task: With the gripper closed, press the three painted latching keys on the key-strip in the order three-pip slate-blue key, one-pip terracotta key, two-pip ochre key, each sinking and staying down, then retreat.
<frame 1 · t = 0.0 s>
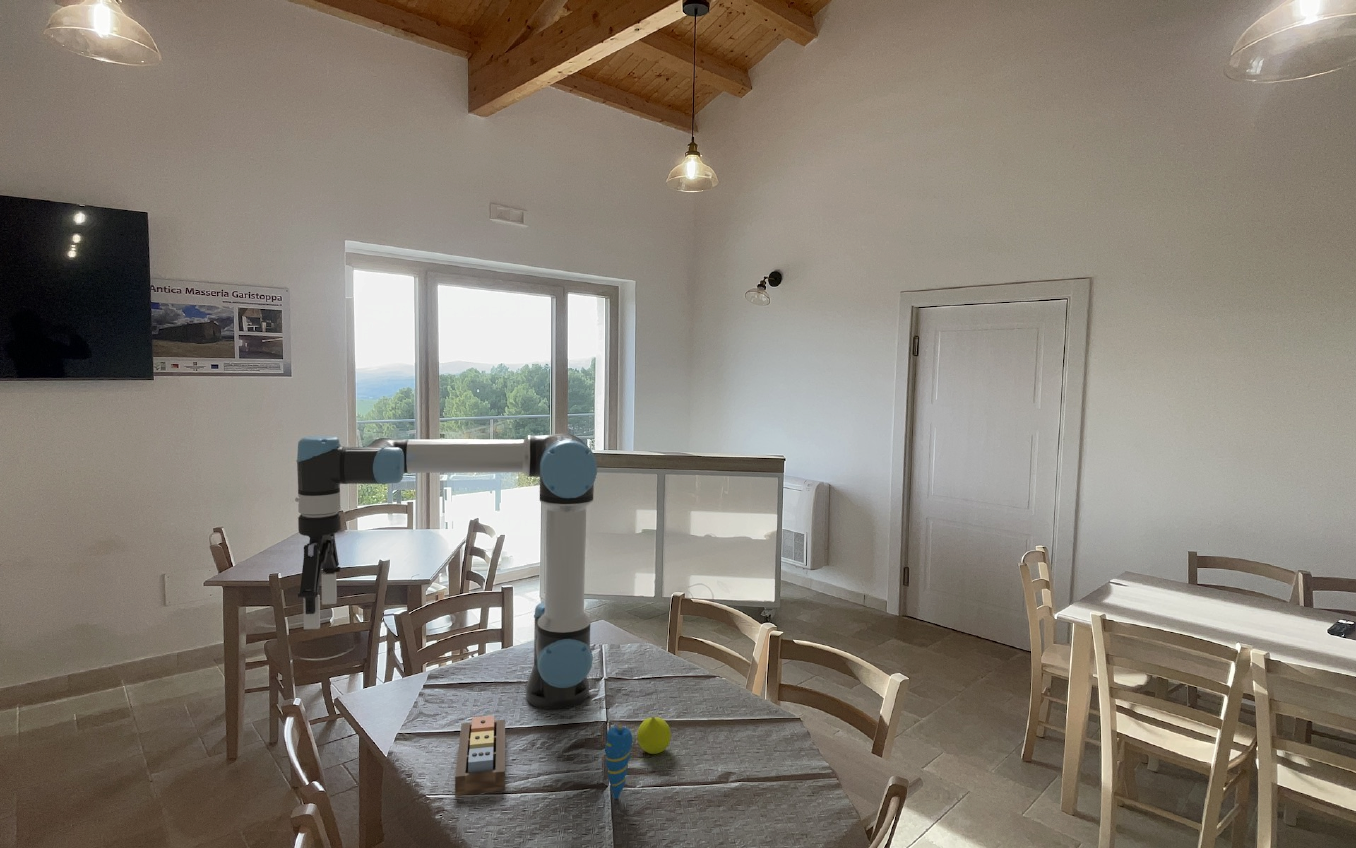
hand: (321, 615, 140), 28 cm above the table, fingers open, 13 cm apart
ornament: (617, 799, 129), on the table
tile three: (480, 761, 132), point 4 cm above the table, slide at 0.0 cm
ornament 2: (653, 752, 145), on the table
tile one: (482, 728, 144), point 4 cm above the table, slide at 0.0 cm
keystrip: (481, 764, 138), on the table
tile two: (482, 744, 138), point 4 cm above the table, slide at 0.0 cm
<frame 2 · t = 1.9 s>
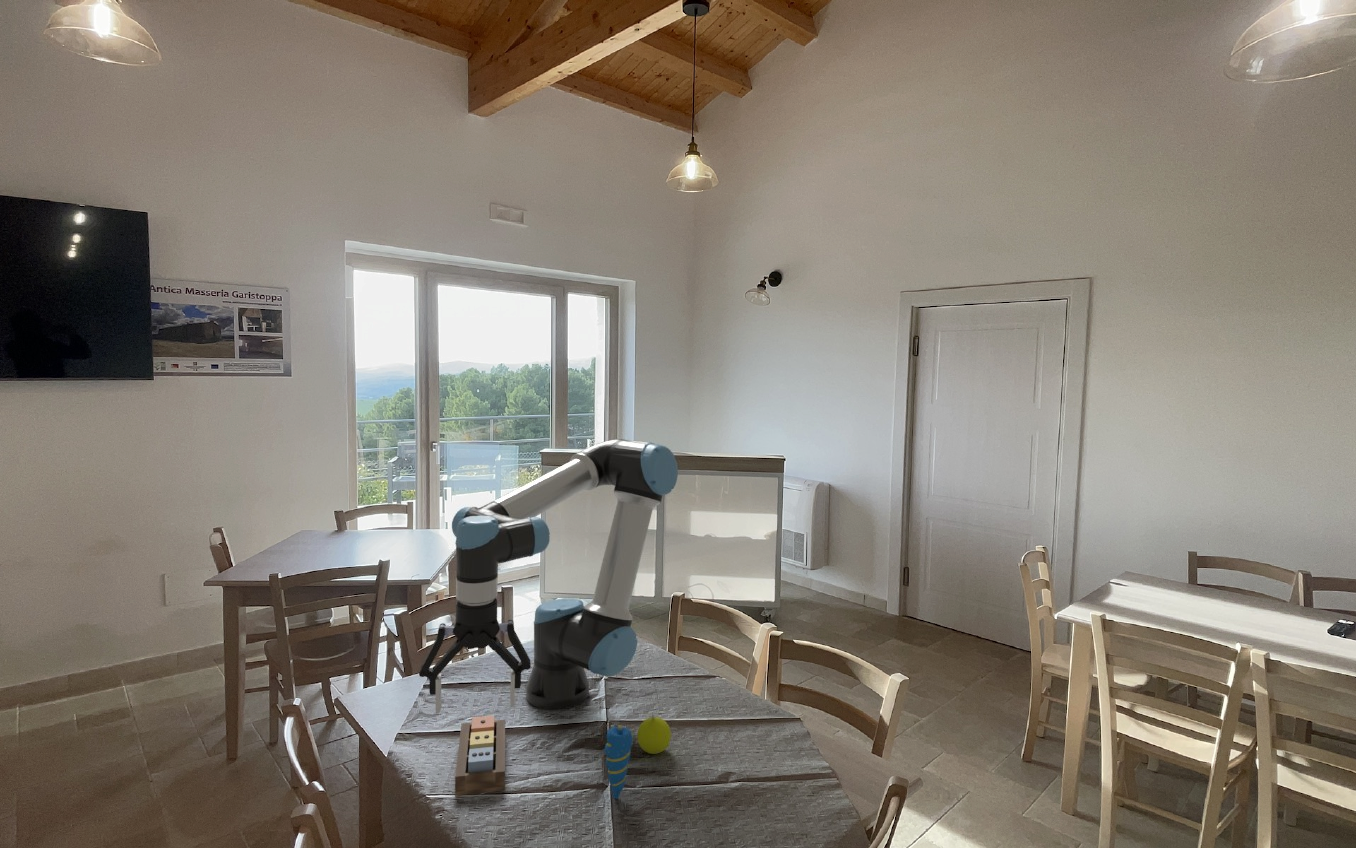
hand: (475, 707, 131), 15 cm above the table, fingers open, 13 cm apart
nothing on the table moved.
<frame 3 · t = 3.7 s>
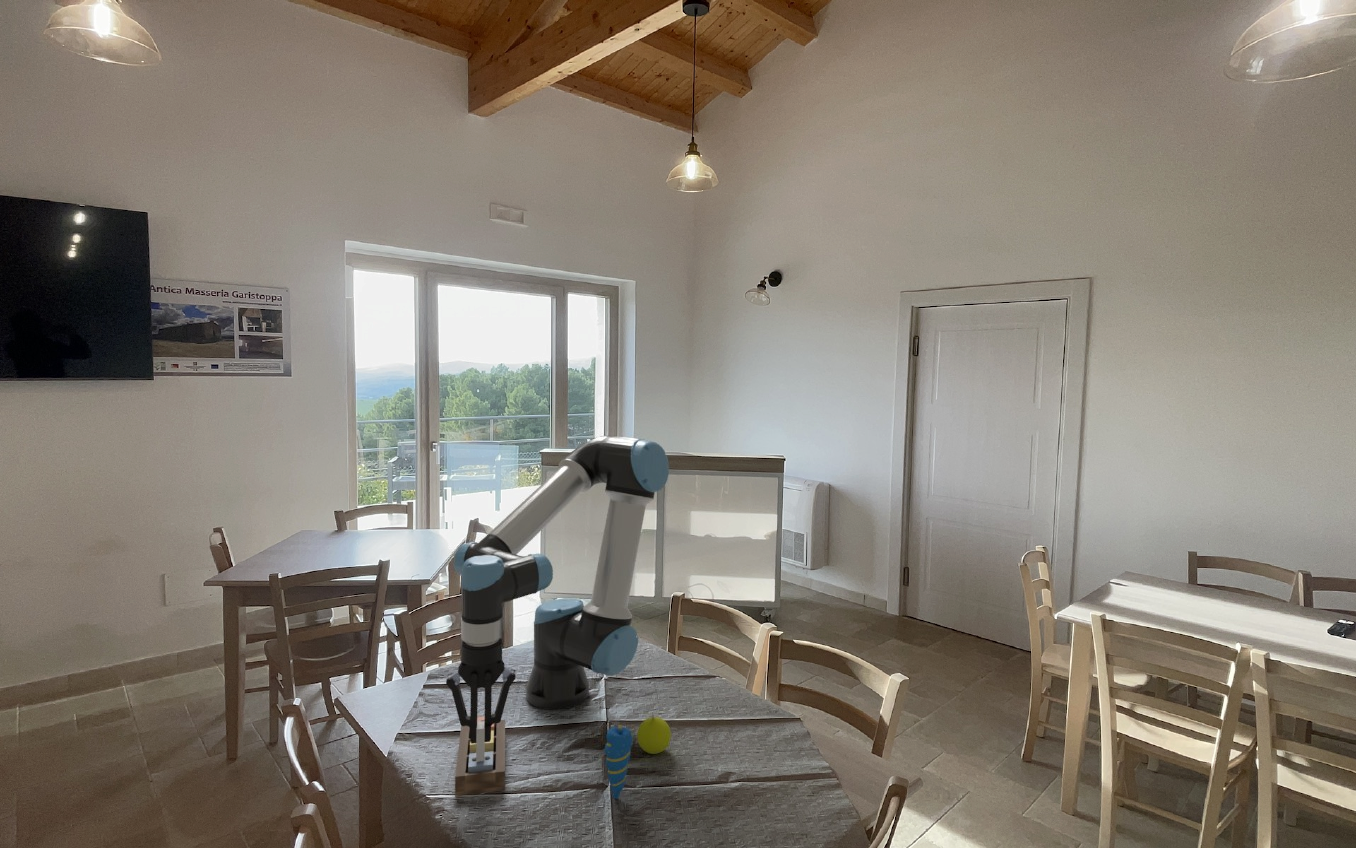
hand: (480, 757, 132), 5 cm above the table, fingers closed
tile three: (480, 766, 132), point 3 cm above the table, slide at 0.9 cm, touching gripper
everything else where it was.
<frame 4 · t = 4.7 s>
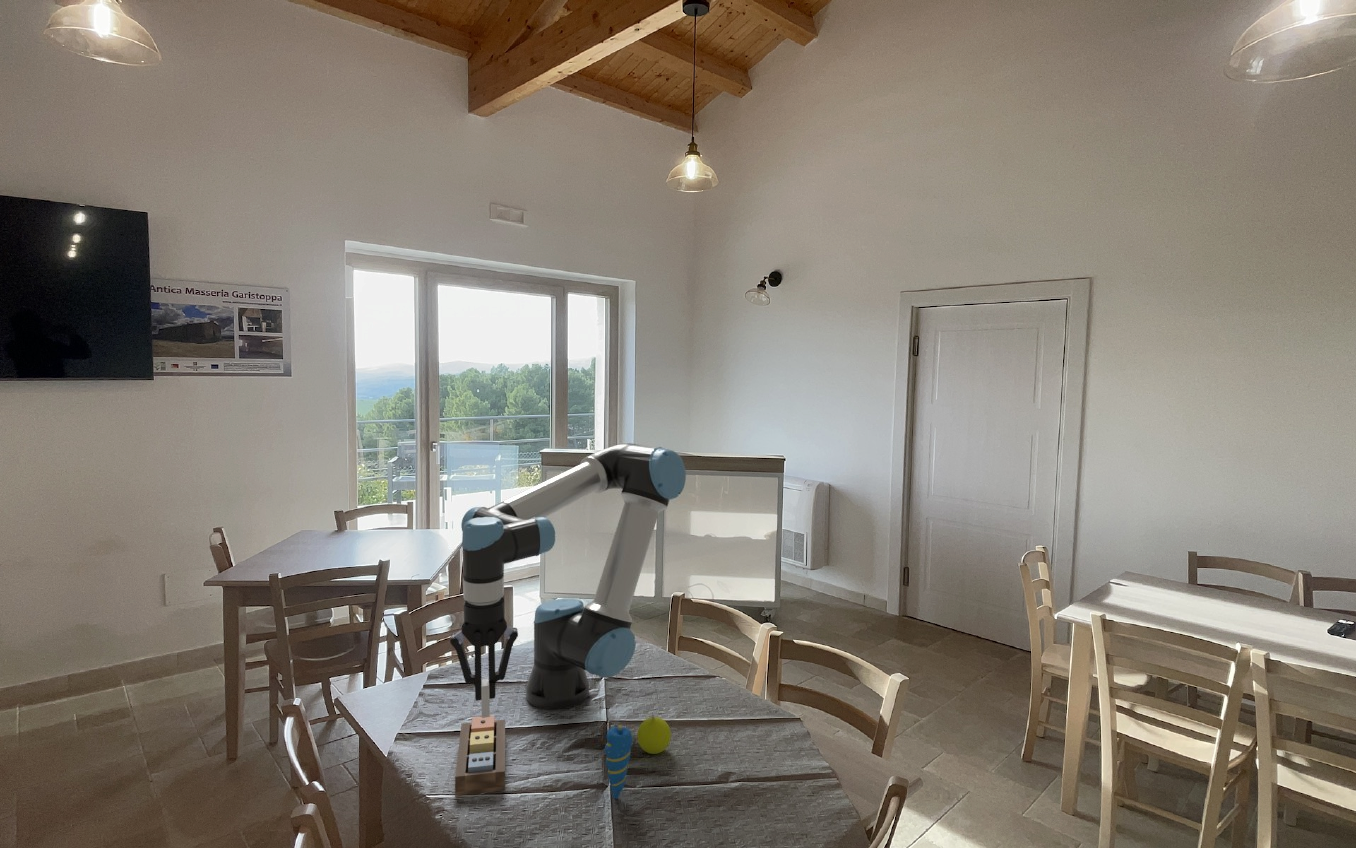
hand: (485, 714, 135), 12 cm above the table, fingers closed
tile three: (480, 766, 132), point 3 cm above the table, slide at 1.0 cm
everything else where it was.
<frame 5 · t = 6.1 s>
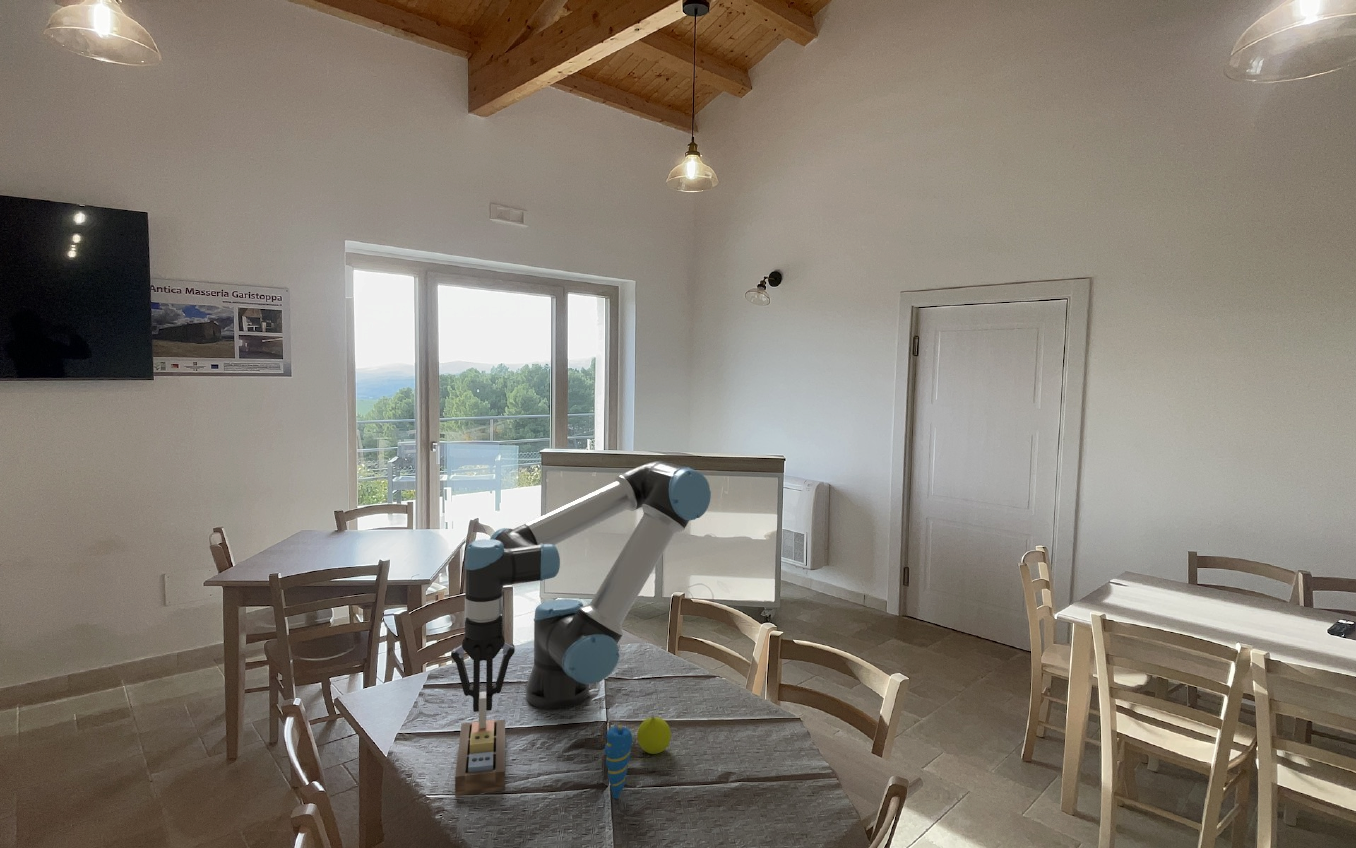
hand: (482, 725, 144), 5 cm above the table, fingers closed
tile one: (482, 733, 144), point 3 cm above the table, slide at 1.0 cm, touching gripper
everything else where it was.
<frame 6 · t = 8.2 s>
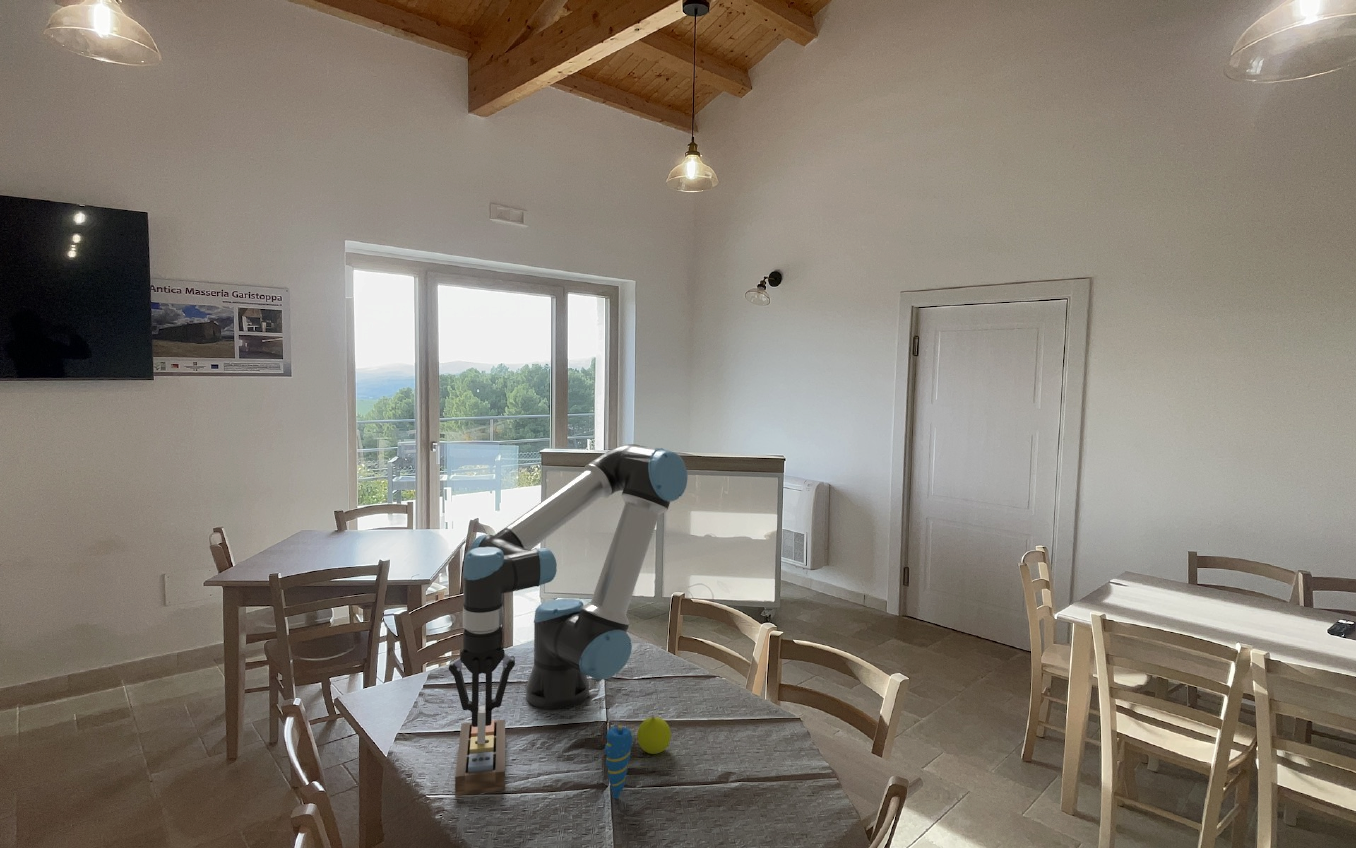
hand: (481, 740, 138), 5 cm above the table, fingers closed
tile one: (482, 733, 144), point 3 cm above the table, slide at 1.0 cm
tile two: (481, 748, 138), point 3 cm above the table, slide at 1.0 cm, touching gripper
everything else where it was.
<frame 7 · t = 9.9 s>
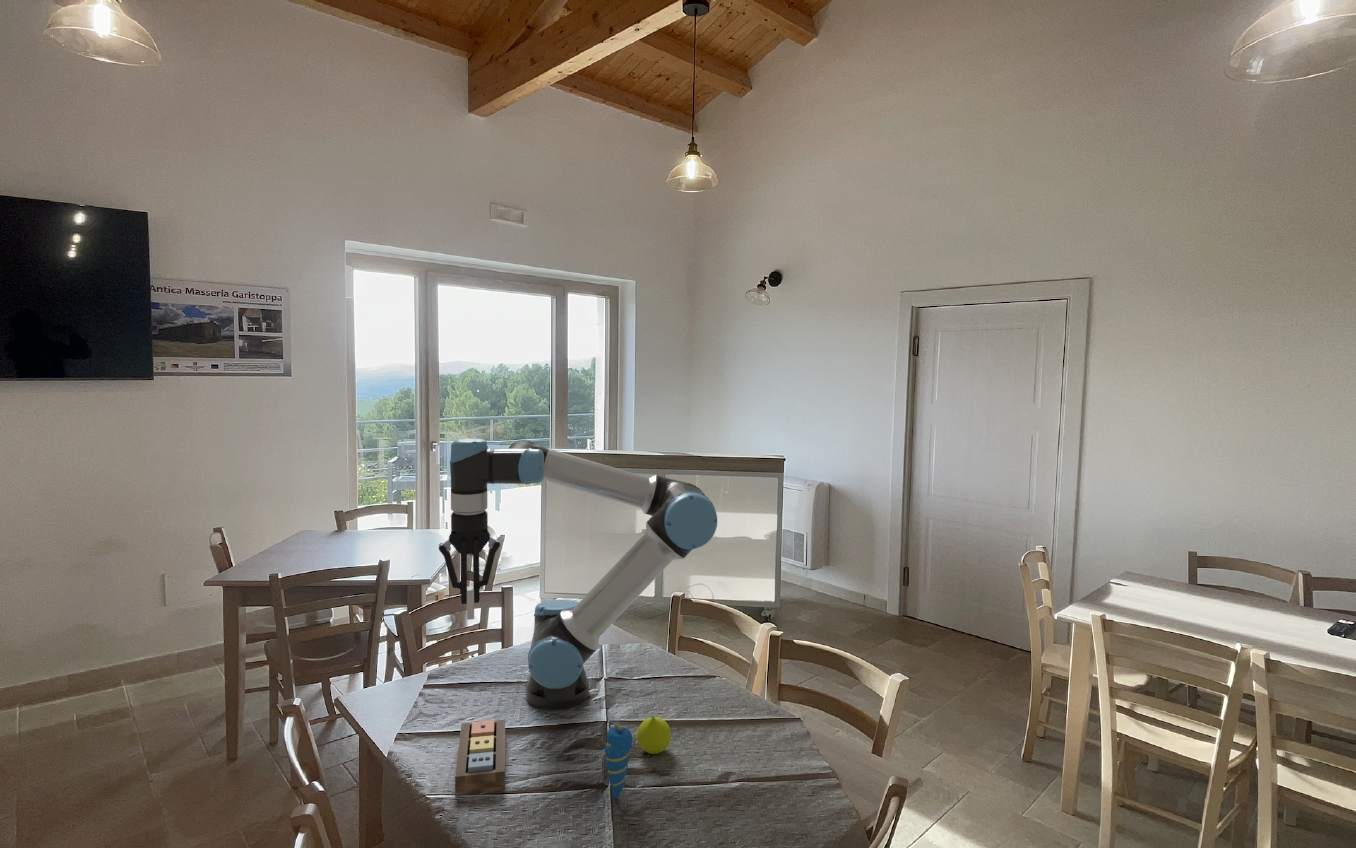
hand: (470, 617, 150), 25 cm above the table, fingers closed
tile two: (481, 749, 138), point 3 cm above the table, slide at 1.0 cm
everything else where it was.
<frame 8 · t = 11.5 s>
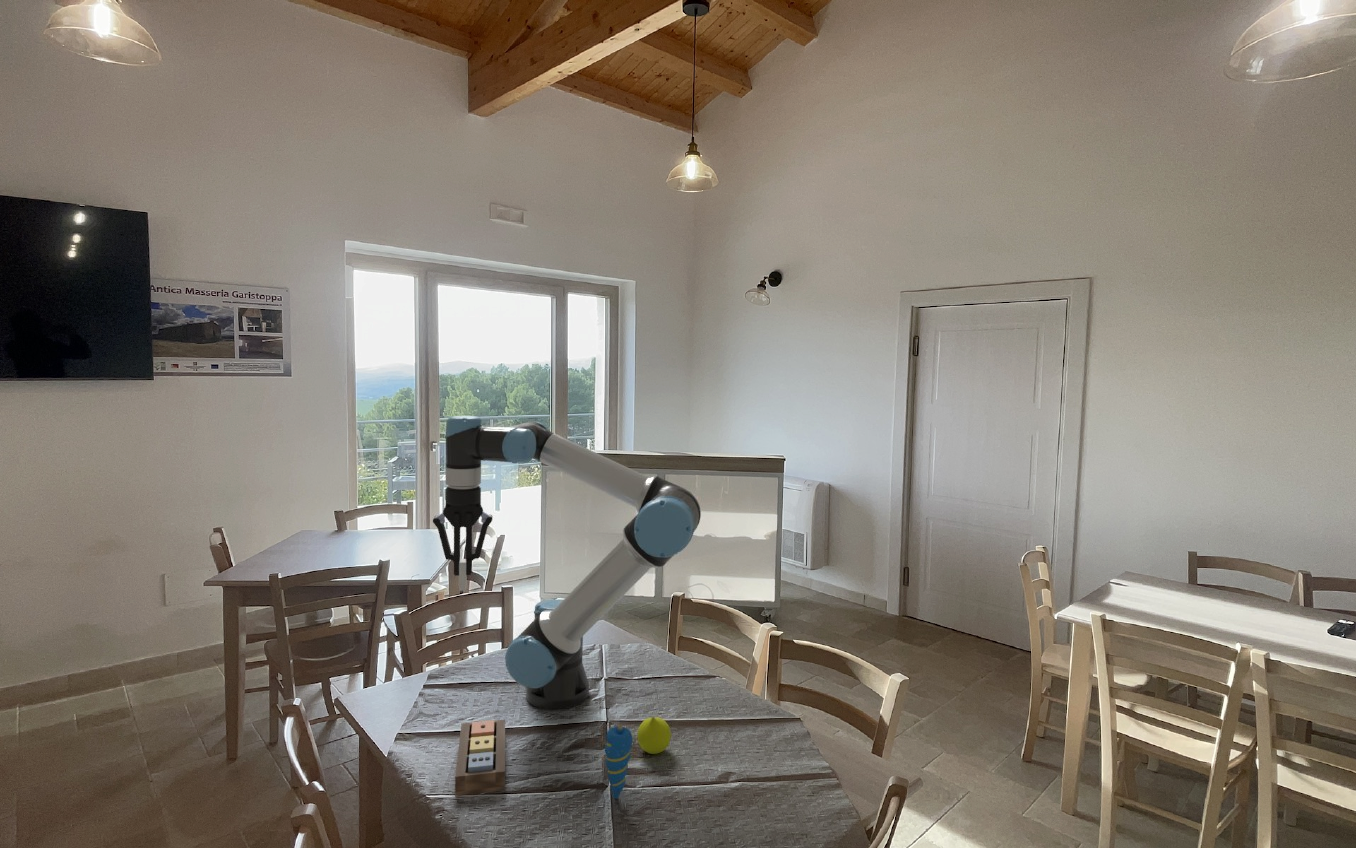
hand: (462, 588, 155), 29 cm above the table, fingers closed
nothing on the table moved.
at the end: tile three slide at 1.0 cm; tile one slide at 1.0 cm; tile two slide at 1.0 cm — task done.
